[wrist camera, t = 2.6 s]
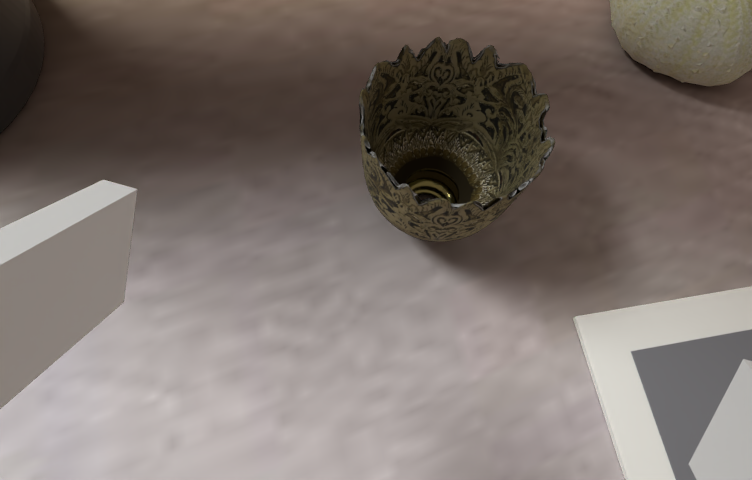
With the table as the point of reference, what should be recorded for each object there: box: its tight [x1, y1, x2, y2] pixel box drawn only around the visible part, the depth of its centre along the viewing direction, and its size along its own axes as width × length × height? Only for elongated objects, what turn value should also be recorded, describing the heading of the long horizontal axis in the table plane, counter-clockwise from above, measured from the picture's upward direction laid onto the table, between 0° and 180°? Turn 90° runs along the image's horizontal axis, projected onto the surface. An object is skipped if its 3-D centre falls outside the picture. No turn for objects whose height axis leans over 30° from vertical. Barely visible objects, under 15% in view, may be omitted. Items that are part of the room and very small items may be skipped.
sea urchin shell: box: [609, 0, 752, 86], centre depth 36 cm, size 9×8×8 cm
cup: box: [359, 37, 555, 241], centre depth 28 cm, size 8×7×8 cm
